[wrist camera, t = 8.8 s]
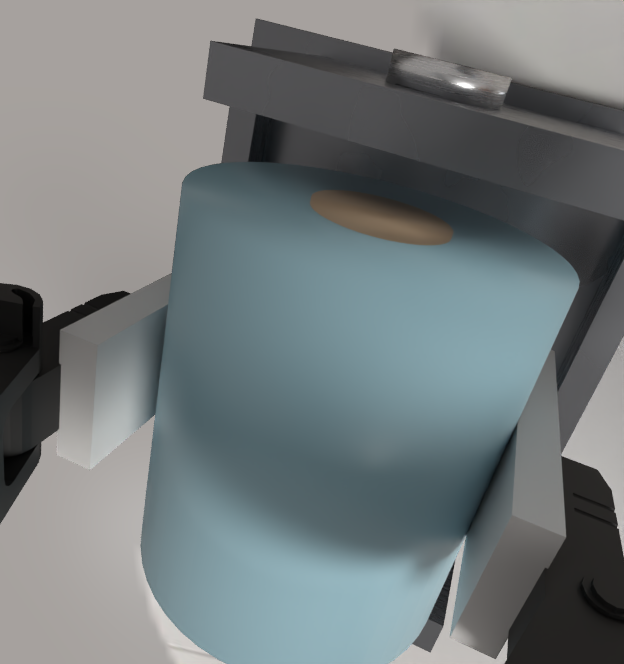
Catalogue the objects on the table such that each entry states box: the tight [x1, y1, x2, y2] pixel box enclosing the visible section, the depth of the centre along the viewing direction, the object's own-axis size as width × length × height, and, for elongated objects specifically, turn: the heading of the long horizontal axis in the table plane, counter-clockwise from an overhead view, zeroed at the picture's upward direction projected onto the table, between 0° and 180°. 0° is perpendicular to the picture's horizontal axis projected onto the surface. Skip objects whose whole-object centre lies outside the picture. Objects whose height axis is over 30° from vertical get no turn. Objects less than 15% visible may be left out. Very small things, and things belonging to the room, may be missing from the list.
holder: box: [203, 19, 624, 652], centre depth 15 cm, size 13×12×7 cm
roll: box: [141, 162, 580, 664], centre depth 12 cm, size 8×7×7 cm
